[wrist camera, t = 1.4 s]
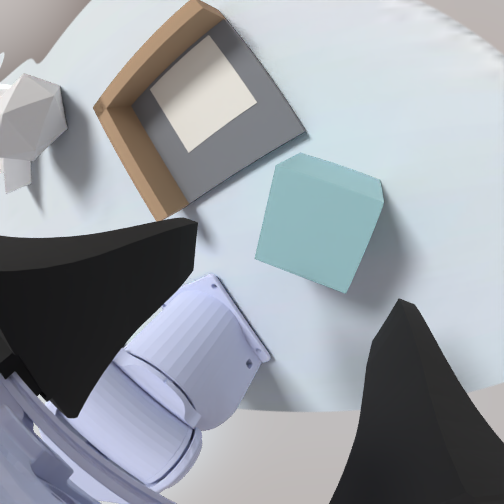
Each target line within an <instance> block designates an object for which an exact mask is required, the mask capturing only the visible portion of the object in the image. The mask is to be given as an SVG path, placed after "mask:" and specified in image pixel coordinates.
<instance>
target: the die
mask: <svg viewBox="0 0 504 504" xmlns="http://www.w3.org/2000/svg"><path fill="white" fill-rule="evenodd" d="M67 129H68V127H67V123H66V118H65V112H64V107H63V101H62V95H61V89H60V86H59V85H57V84H54V83H51V82H48V81H45V80H42V79H40V78H37V77H34V76H31V75H28V74H23V75H22V76H21V77H20V78H19V79H18V80H17V81H16V82H15V83H14V84H13V85H12V86H11V87H10V88H9V89H8V90H7V91H6V92H5V93H4V94H3V95H2V96H1V98H0V158H9V159H19V160H28V161H34V160H35V159H36V158H37V157H38V156H39V155H40V154H41V153H42V152H43V151H44V150H45V149H46V148H47V147H48V146H49V145H50V144H51V143H52V142H54V141H55V140H56V139H57V138H58V137H59V136H60V135H61V134H62V133H63V132H64V131H65V130H67Z"/></svg>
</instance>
